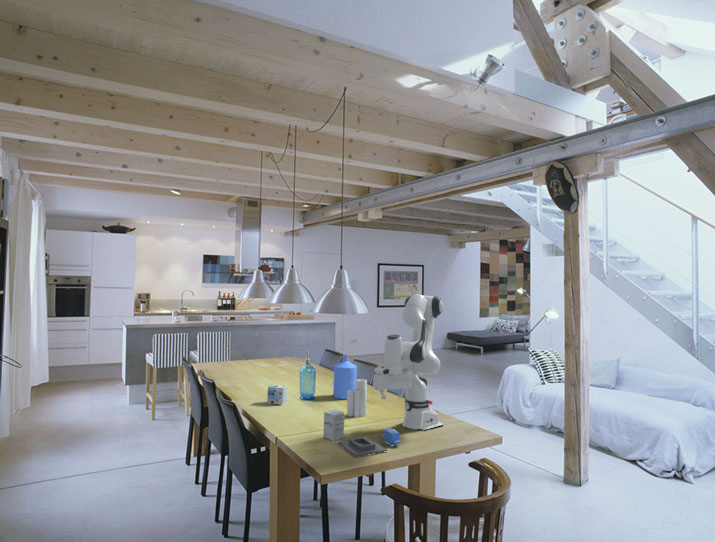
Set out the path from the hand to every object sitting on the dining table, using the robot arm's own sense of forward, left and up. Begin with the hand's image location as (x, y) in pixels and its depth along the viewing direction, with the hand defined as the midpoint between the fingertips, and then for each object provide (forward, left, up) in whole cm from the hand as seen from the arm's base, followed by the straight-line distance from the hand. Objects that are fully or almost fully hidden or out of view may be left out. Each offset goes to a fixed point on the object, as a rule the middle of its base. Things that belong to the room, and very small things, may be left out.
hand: (392, 398), depth 215 cm
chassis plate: (+16, 0, -21) cm, 27 cm away
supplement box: (+22, -18, -22) cm, 36 cm away
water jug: (-20, -90, -22) cm, 95 cm away
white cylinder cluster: (-7, -48, -22) cm, 53 cm away
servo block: (0, 0, -21) cm, 21 cm away
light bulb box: (+27, -91, -22) cm, 97 cm away
